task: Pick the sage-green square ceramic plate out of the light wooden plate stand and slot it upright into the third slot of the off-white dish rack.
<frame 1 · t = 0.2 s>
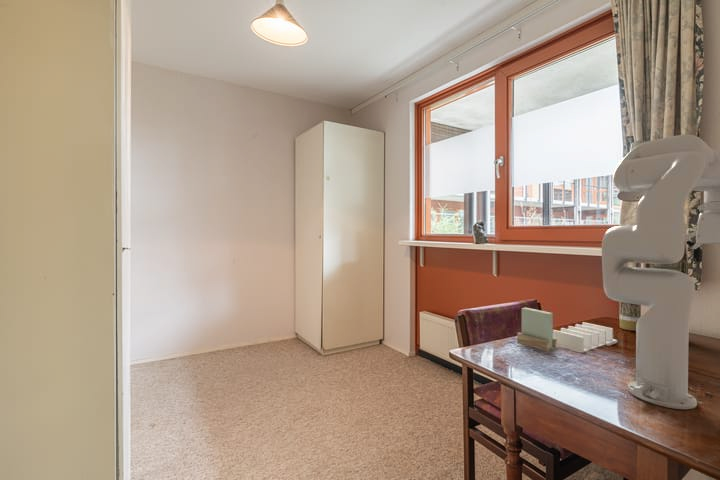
plate stand: (536, 346, 118), on the table
plate: (536, 343, 118), point 1 cm above the table, touching plate stand
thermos: (665, 338, 127), on the table
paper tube: (630, 329, 138), on the table
dish rack: (583, 344, 120), on the table
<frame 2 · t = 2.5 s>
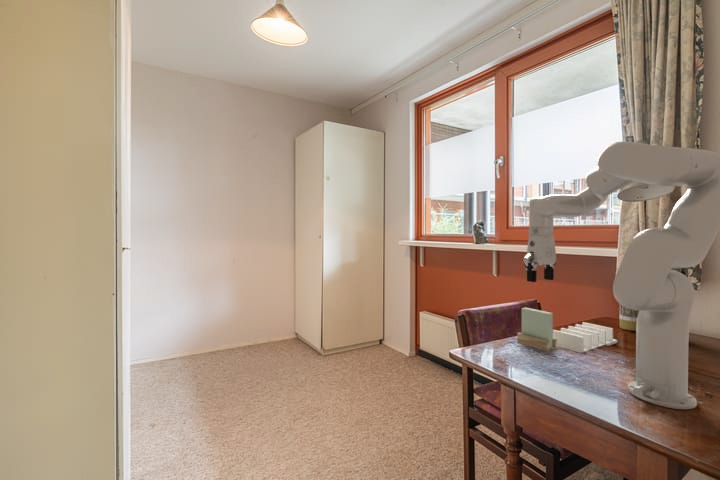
hand: (540, 280, 117), 24 cm above the table, tool pointing down, fingers open, 9 cm apart
nothing on the table moved.
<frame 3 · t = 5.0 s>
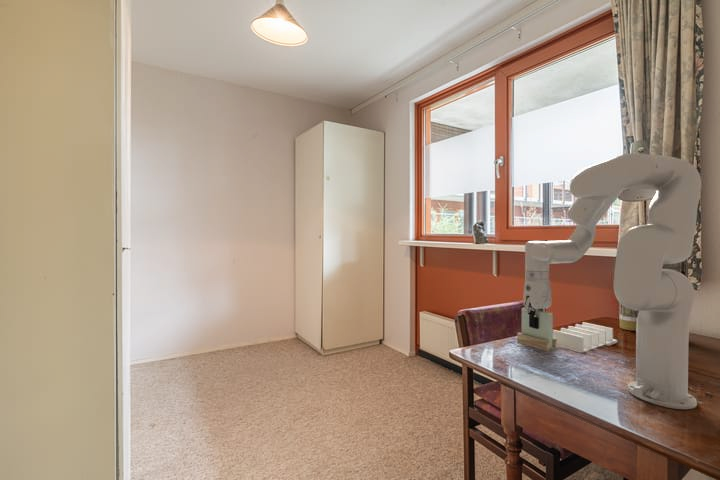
hand: (536, 326, 118), 7 cm above the table, tool pointing down, fingers closed on plate, 2 cm apart
plate: (536, 343, 118), point 1 cm above the table, touching gripper, plate stand
everything else where it was.
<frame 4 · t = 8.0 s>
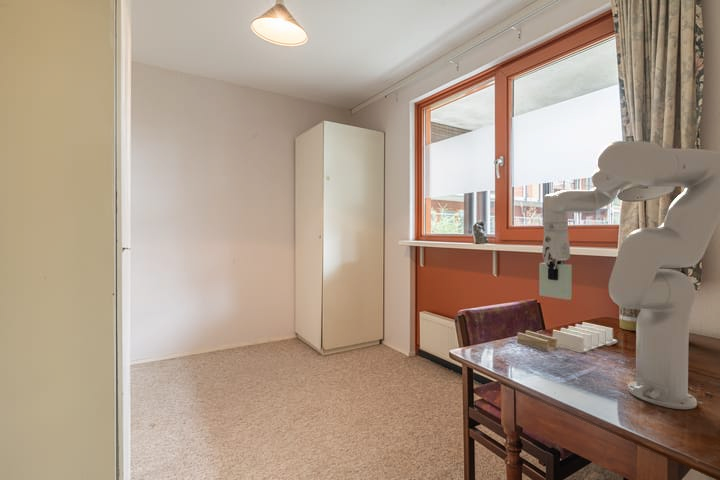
hand: (555, 279, 118), 24 cm above the table, tool pointing down, fingers closed on plate, 2 cm apart
plate: (554, 297, 119), point 18 cm above the table, touching gripper
everything else where it was.
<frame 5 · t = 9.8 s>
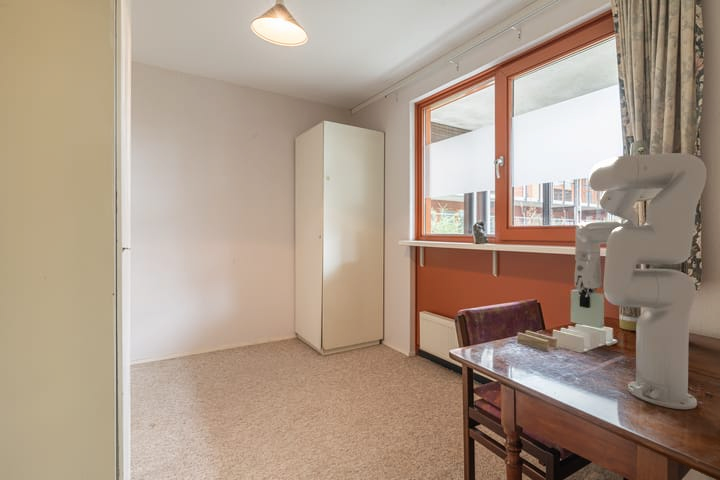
hand: (586, 306, 121), 14 cm above the table, tool pointing down, fingers closed on plate, 2 cm apart
plate: (586, 324, 121), point 7 cm above the table, touching gripper
everything else where it was.
when the fingers open (9 cm above the table, at t = 11.1 s): plate stays where it is, resting on dish rack.
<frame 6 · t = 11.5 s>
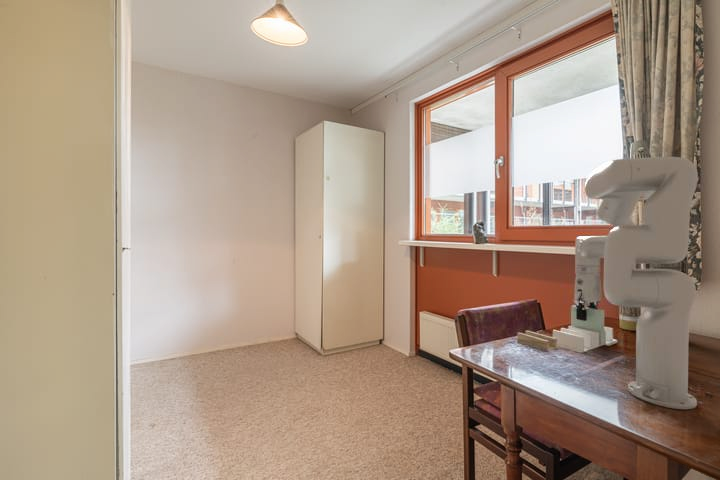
hand: (586, 318, 121), 9 cm above the table, tool pointing down, fingers open, 6 cm apart
plate: (586, 340, 121), point 1 cm above the table, touching dish rack
everything else where it was.
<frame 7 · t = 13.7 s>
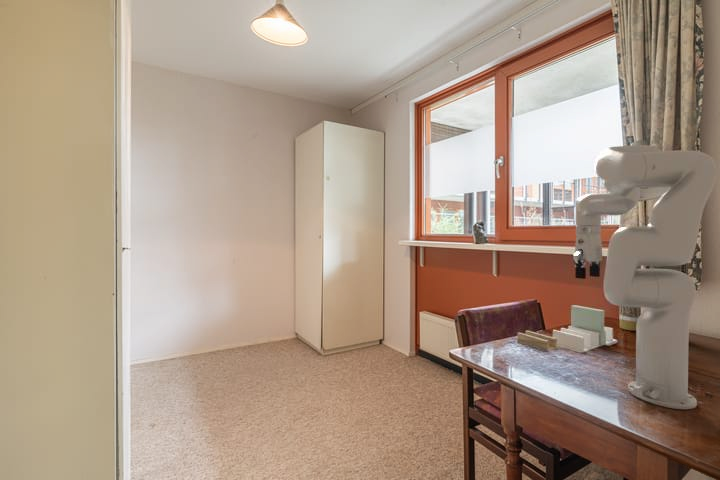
hand: (587, 277, 121), 24 cm above the table, tool pointing down, fingers open, 9 cm apart
nothing on the table moved.
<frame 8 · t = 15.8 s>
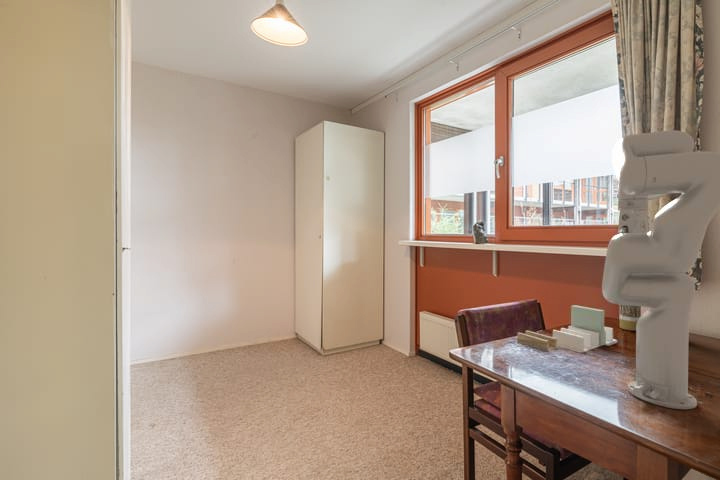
hand: (631, 258, 108), 32 cm above the table, tool pointing down, fingers open, 9 cm apart
nothing on the table moved.
at the end: plate 0.1 cm from the target spot on the dish rack, point 1.0 cm above the dish rack's base; plate tilted 0°; the gripper is holding nothing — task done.
